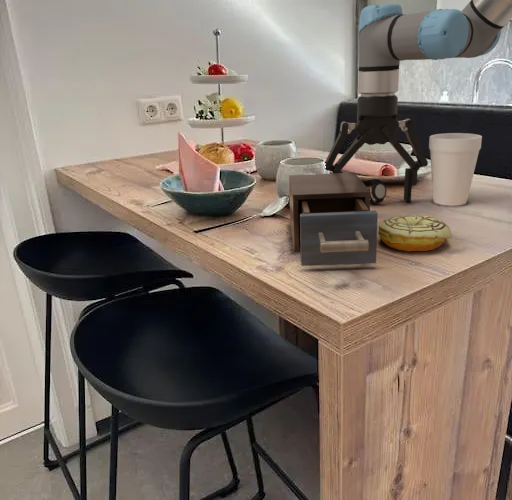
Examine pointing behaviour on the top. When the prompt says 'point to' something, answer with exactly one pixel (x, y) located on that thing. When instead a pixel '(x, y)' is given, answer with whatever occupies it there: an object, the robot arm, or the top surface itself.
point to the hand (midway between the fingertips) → (373, 202)
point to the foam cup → (453, 166)
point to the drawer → (337, 232)
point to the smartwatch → (376, 190)
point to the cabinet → (322, 194)
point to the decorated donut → (414, 232)
